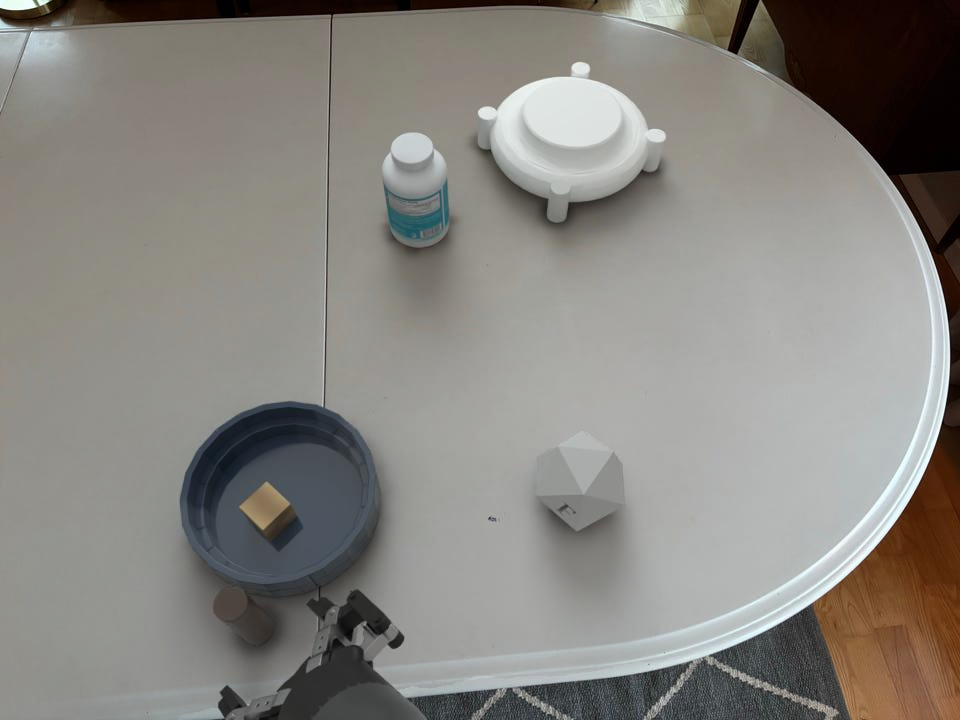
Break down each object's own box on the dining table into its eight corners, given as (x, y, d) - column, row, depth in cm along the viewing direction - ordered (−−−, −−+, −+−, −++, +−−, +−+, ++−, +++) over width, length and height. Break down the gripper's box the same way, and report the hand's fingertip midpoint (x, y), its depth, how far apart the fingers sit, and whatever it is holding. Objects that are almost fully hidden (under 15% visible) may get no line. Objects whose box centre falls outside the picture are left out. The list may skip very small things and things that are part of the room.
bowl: (281, 640, 73) (269, 628, 69) (157, 512, 79) (139, 494, 75) (418, 498, 80) (415, 479, 76) (295, 391, 86) (285, 368, 82)
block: (271, 542, 77) (262, 530, 74) (247, 519, 78) (238, 506, 75) (297, 516, 79) (290, 503, 75) (274, 494, 80) (266, 481, 77)
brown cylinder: (257, 652, 73) (228, 628, 64) (237, 631, 73) (205, 605, 65) (280, 628, 74) (254, 602, 65) (260, 608, 75) (232, 579, 66)
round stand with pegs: (460, 209, 100) (460, 168, 94) (493, 81, 112) (494, 38, 106) (651, 236, 98) (663, 197, 92) (663, 103, 110) (674, 60, 104)
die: (517, 471, 82) (516, 499, 73) (574, 408, 81) (581, 427, 71) (578, 524, 83) (585, 559, 73) (636, 462, 82) (652, 489, 72)
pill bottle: (410, 196, 101) (401, 114, 89) (460, 218, 99) (458, 137, 87) (378, 236, 97) (365, 156, 86) (429, 259, 96) (423, 181, 84)
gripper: (408, 615, 48) (313, 549, 62) (225, 817, 43) (165, 696, 57) (473, 689, 51) (368, 611, 65) (309, 888, 46) (233, 756, 59)
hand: (274, 651), depth 61 cm, fingers open, 8 cm apart
